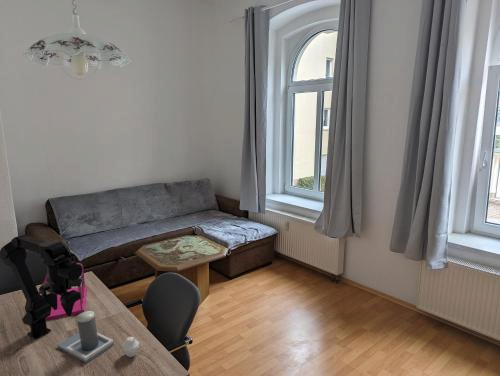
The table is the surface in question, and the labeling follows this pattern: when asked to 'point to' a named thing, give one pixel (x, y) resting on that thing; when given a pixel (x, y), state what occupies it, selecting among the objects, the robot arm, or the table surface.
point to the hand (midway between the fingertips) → (62, 312)
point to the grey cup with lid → (87, 330)
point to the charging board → (74, 349)
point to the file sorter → (78, 305)
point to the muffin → (130, 346)
